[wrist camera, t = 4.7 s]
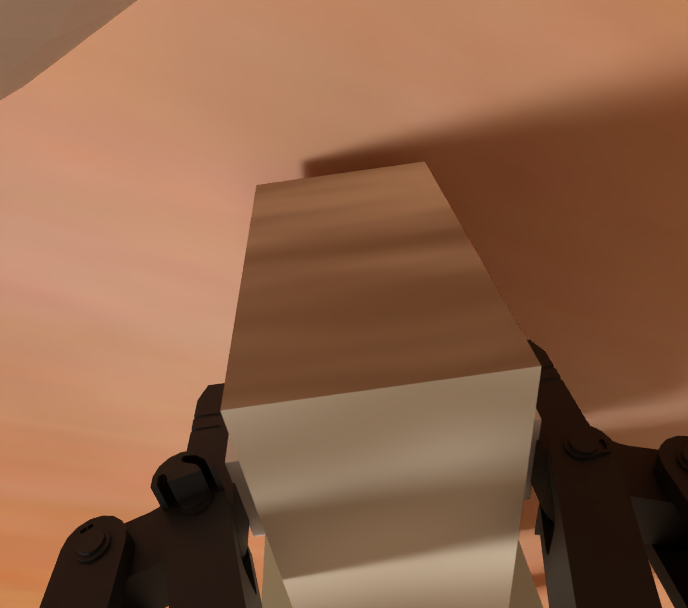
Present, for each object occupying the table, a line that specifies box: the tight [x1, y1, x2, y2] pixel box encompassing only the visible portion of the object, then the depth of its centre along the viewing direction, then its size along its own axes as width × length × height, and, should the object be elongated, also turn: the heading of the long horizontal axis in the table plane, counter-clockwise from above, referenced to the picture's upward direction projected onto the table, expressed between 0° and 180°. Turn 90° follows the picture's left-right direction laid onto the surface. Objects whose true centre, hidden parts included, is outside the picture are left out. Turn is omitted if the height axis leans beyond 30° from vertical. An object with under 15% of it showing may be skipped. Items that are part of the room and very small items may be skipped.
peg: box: [220, 161, 541, 608], centre depth 16 cm, size 14×5×9 cm, turn 7°
